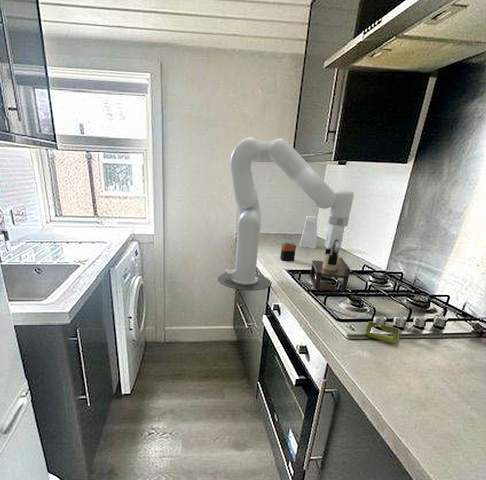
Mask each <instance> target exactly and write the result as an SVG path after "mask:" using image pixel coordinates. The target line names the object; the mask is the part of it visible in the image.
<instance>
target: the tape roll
mask: <svg viewBox="0 0 486 480" xmlns="http://www.w3.org/2000/svg"><path fill="white" fill-rule="evenodd" d="M329 255H330V254H325V253H324V255H323V260H322V261H323V266H322V268H324V269H327V270H338V267H339V262H340V257H341V256H340V255H338V258H337V263H336V265H329V264H328V260H329Z"/></svg>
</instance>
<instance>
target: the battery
mask: <svg viewBox="0 0 486 480" xmlns="http://www.w3.org/2000/svg"><path fill="white" fill-rule="evenodd" d="M296 249H297V245H296V244H295V243H294V242H290V243H289V242H288V241H284V242H282V243H281V250H280V255H279V257H280V258H279V259H280V260H281V261H283V262H294V261H295V256H296Z"/></svg>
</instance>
